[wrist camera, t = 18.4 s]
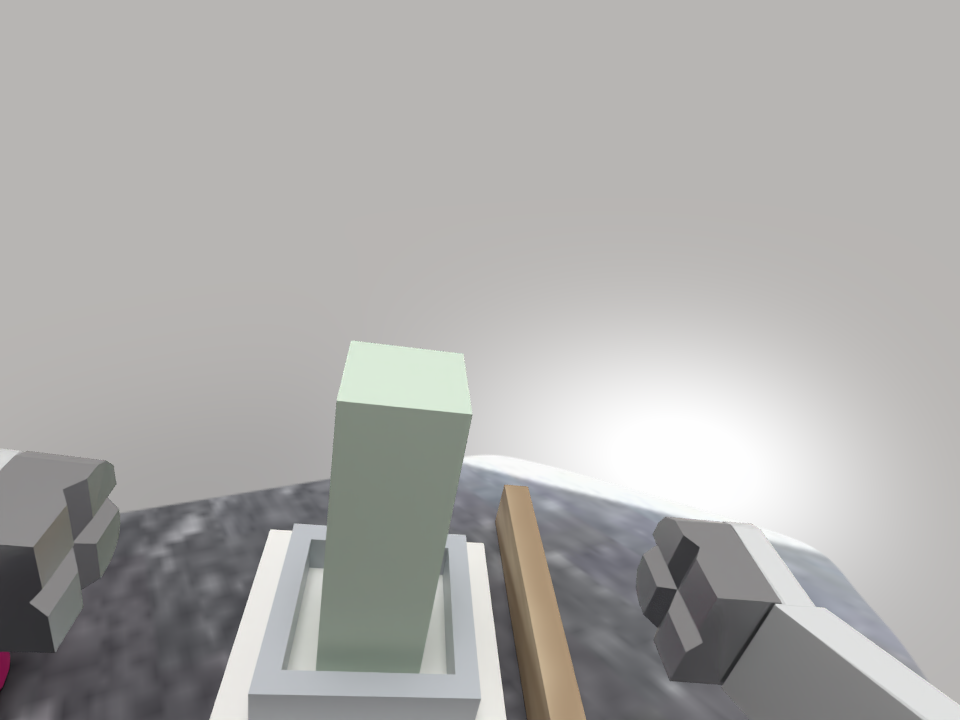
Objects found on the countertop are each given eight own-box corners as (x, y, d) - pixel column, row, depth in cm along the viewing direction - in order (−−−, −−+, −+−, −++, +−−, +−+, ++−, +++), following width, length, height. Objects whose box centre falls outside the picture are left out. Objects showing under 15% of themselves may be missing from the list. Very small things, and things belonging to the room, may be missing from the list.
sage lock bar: (315, 673, 25) (336, 400, 19) (329, 589, 29) (351, 340, 23) (418, 676, 26) (472, 414, 19) (418, 593, 30) (463, 353, 23)
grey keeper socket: (195, 782, 21) (191, 735, 20) (270, 542, 32) (270, 501, 31) (507, 780, 23) (523, 738, 22) (480, 555, 34) (490, 517, 33)
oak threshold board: (537, 780, 24) (554, 738, 22) (495, 521, 37) (504, 484, 35) (571, 780, 24) (590, 738, 22) (517, 522, 37) (527, 486, 36)
